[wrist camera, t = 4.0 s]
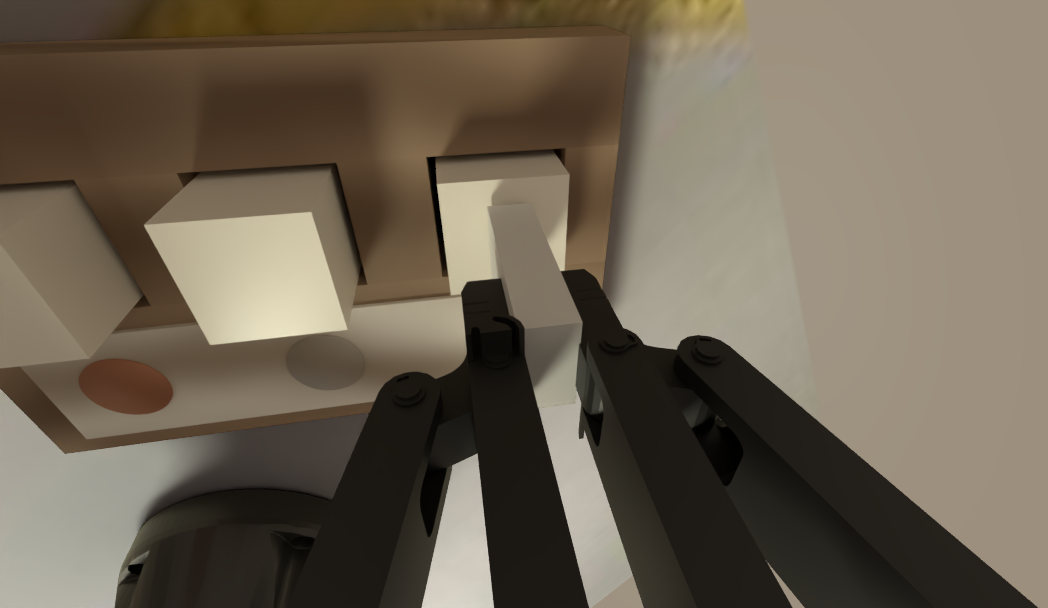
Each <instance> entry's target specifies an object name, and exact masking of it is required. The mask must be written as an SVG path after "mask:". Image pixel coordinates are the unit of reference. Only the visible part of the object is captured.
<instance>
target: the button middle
mask: <svg viewBox="0 0 1048 608" xmlns="http://www.w3.org/2000/svg"><path fill="white" fill-rule="evenodd" d="M144 227H145V228H146V230H147V232H148V234H149V236H150V237H151V239H152V241H153V243H154V245H155V246H156V248H157V250H158V252H159V254H160V256H161V257H162V259H163V261H164V263H165V265H166V266H167V268H168V270H169V272H170V274H171V275H172V277H173V279H174V281H175V283H176V284H177V286H178V288H179V290H180V292H181V293H182V295H183V297H184V299H185V301H186V302H187V304H188V306H189V308H190V310H191V311H192V313H193V315H194V317H195V319H196V321H197V322H198V324H199V326H200V328H201V330H202V331H203V333H204V335H205V337H206V339H207V340H208V342H209V344H210V345H216V344H225V343H233V342H242V341H251V340H260V339H269V338H278V337H287V336H296V335H305V334H314V333H323V332H332V331H341V330H348V325H349V321H350V316H351V311H352V307H353V302H354V297H355V292H356V288H357V283H358V278H359V273H360V269H361V260H360V256H359V252H358V248H357V244H356V240H355V236H354V232H353V228H352V225H351V221H350V217H349V213H348V209H347V205H346V201H345V197H344V193H343V189H342V185H341V181H340V178H339V174H338V170H337V166H336V163H326V164H311V165H295V166H280V167H264V168H249V169H233V170H218V171H202V172H200V173H199V174H198V175H197V176H196V177H195V178H194V179H193V180H192V181H191V182H189V183H188V184H187V185H186V186H185V187H184V188H183V189H182V190H181V191H180V192H179V193H178V194H177V195H175V196H174V197H173V198H172V199H171V200H170V201H169V202H168V203H167V204H166V205H165V206H164V207H162V208H161V209H160V210H159V211H158V212H157V213H156V214H155V215H154V216H153V217H152V218H151V219H150V220H148V221H147V222H146V223H145V224H144Z"/></svg>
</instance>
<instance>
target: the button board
mask: <svg viewBox="0 0 1048 608" xmlns="http://www.w3.org/2000/svg"><path fill="white" fill-rule="evenodd" d="M630 40H631V35H629V34H626V33H623V32H620V31H617V30H614V29H611V28H609V27H606V26H603V25H601V26H566V27H531V28H495V29H460V30H425V31H390V32H355V33H319V34H284V35H249V36H214V37H178V38H143V39H108V40H73V41H37V42H2V43H0V185H1V184H16V183H32V182H47V181H63V180H74V181H75V183H76V184H77V186H78V188H79V189H80V191H81V192H82V194H83V196H84V197H85V199H86V201H87V202H88V204H89V205H90V207H91V209H92V210H93V212H94V214H95V215H96V217H97V219H98V220H99V222H100V223H101V225H102V227H103V228H104V230H105V232H106V233H107V235H108V236H109V238H110V240H111V241H112V243H113V245H114V246H115V248H116V249H117V251H118V253H119V254H120V256H121V258H122V259H123V261H124V262H125V264H126V266H127V267H128V269H129V271H130V272H131V274H132V275H133V277H134V279H135V280H136V282H137V284H138V285H139V287H140V289H141V290H142V292H143V293H144V295H143V296H142V298H141V299H140V300H139V301H138V302H137V303H136V305H135V306H134V307H133V308H132V309H131V310H130V312H129V313H128V314H127V315H126V316H125V317H124V319H123V320H122V321H121V322H120V323H119V325H118V326H117V327H116V328H115V329H114V330H113V332H112V333H111V334H110V335H109V336H108V337H107V339H106V340H105V341H104V342H103V343H102V345H101V346H100V347H99V348H98V349H97V350H96V352H95V353H94V354H93V355H92V356H91V357H90V359H81V360H72V361H63V362H54V363H45V364H36V365H27V366H18V367H9V368H0V389H1V390H2V391H3V392H4V393H5V394H6V395H7V396H8V397H9V398H10V399H11V400H12V401H13V402H14V403H15V404H16V405H17V406H18V407H19V408H20V409H21V410H22V411H23V412H24V413H25V414H26V415H27V416H28V417H29V418H30V419H31V420H32V421H33V422H34V423H35V424H36V425H37V426H38V427H39V428H40V429H41V430H42V431H43V432H44V433H45V434H46V435H47V436H48V437H49V438H50V439H51V440H52V441H53V442H54V443H55V444H56V445H57V446H58V447H59V448H60V449H61V450H62V451H63V452H64V453H65V454H67V453H74V452H81V451H89V450H96V449H104V448H111V447H118V446H126V445H133V444H140V443H148V442H155V441H163V440H170V439H177V438H185V437H192V436H200V435H207V434H214V433H222V432H229V431H237V430H244V429H251V428H259V427H266V426H274V425H281V424H288V423H296V422H303V421H310V420H318V419H325V418H333V417H340V416H347V415H355V414H362V413H370V411H371V409H372V406H373V404H374V402H375V399H376V397H377V395H378V392H379V391H380V389H381V388H382V387H383V385H384V384H385V383H386V382H387V381H389V380H390V379H392V378H393V377H395V376H397V375H400V374H403V373H406V372H416V371H417V372H422V373H427V374H429V375H430V376H432V377H434V378H435V379H437V378H439V377H442V376H444V375H446V374H449V373H451V372H453V371H454V370H455V369H457V368H458V367H459V366H460V365H461V364H462V363H463V361H464V359H465V357H466V354H467V349H466V340H465V327H464V317H463V307H462V297H461V294H458V295H451V292H450V284H449V276H448V268H447V260H446V252H445V245H444V242H440V235H439V228H438V220H437V212H436V205H435V197H434V190H433V182H432V174H431V167H430V159H429V157H435V156H450V155H466V154H481V153H497V152H512V151H528V150H543V149H552V150H553V151H554V153H555V154H556V155H557V157H558V158H559V160H560V161H561V163H562V164H563V166H564V167H565V169H566V170H567V171H568V173H569V174H570V176H569V195H568V214H567V233H566V252H565V270H564V271H567V270H577V269H585V270H586V271H588V272H589V273H591V274H592V275H593V276H595V277H596V279H597V281H598V282H599V284H600V286H601V288H602V286H603V277H604V268H605V260H606V251H607V242H608V233H609V224H610V216H611V207H612V198H613V189H614V181H615V172H616V163H617V154H618V146H619V137H620V128H621V119H622V110H623V102H624V93H625V84H626V75H627V67H628V58H629V49H630ZM326 163H337V167H338V171H339V174H340V178H341V182H342V186H343V190H344V194H345V198H346V202H347V206H348V210H349V214H350V218H351V222H352V226H353V229H354V233H355V237H356V241H357V245H358V249H359V250H358V252H359V256H360V260H361V269H360V273H359V278H358V283H357V288H356V292H355V297H354V302H353V307H352V311H351V316H350V321H349V325H348V330H341V331H332V332H323V333H314V334H305V335H296V336H287V337H278V338H269V339H260V340H251V341H242V342H233V343H225V344H216V345H210V344H209V342H208V340H207V339H206V337H205V335H204V333H203V331H202V330H201V328H200V326H199V324H198V322H197V321H196V319H195V317H194V315H193V313H192V311H191V310H190V308H189V306H188V304H187V302H186V301H185V299H184V297H183V295H182V293H181V292H180V290H179V288H178V286H177V284H176V283H175V281H174V279H173V277H172V275H171V274H170V272H169V270H168V268H167V266H166V265H165V263H164V261H163V259H162V257H161V256H160V254H159V252H158V250H157V248H156V246H155V245H154V243H153V241H152V239H151V237H150V236H149V234H148V232H147V230H146V228H145V227H144V224H145V223H146V222H147V221H148V220H150V219H151V218H152V217H153V216H154V215H155V214H156V213H157V212H158V211H159V210H160V209H161V208H162V207H164V206H165V205H166V204H167V203H168V202H169V201H170V200H171V199H172V198H173V197H174V196H175V195H177V194H178V193H179V192H180V191H181V190H182V189H183V188H184V187H185V186H186V185H187V184H188V183H189V182H191V181H192V180H193V179H194V178H195V177H196V176H197V175H198V174H199V173H200V172H202V171H218V170H233V169H249V168H264V167H280V166H295V165H311V164H326Z"/></svg>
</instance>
